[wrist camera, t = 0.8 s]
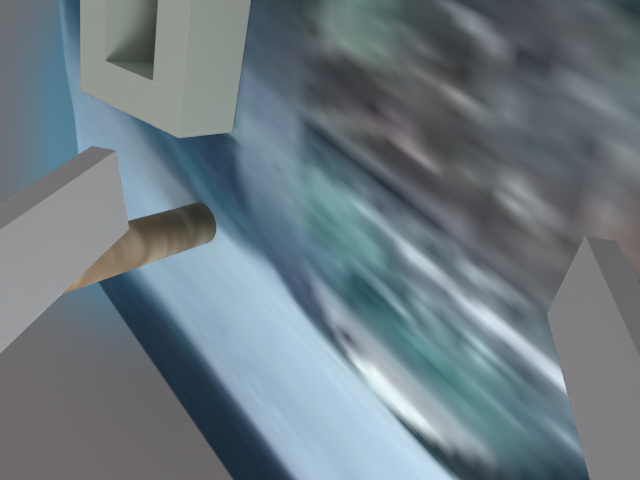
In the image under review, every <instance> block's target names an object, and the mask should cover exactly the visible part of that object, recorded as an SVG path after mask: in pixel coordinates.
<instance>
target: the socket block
mask: <svg viewBox="0 0 640 480" xmlns="http://www.w3.org/2000/svg"><path fill="white" fill-rule="evenodd" d="M250 4H251V0H80V65H81V91H82V92H84V93H86V94H88V95H90V96H92V97H95V98H97V99H99V100H101V101H103V102H105V103H107V104H109V105H111V106H113V107H115V108H117V109H119V110H122V111H124V112H126V113H128V114H130V115H132V116H134V117H136V118H138V119H140V120H142V121H144V122H147V123H149V124H151V125H153V126H155V127H157V128H159V129H161V130H163V131H165V132H167V133H169V134H172V135H174V136H176V137H178V138H184V137H193V136H202V135H210V134H219V133H228V132H233V124H234V117H235V110H236V103H237V96H238V89H239V82H240V75H241V68H242V61H243V53H244V46H245V39H246V32H247V25H248V18H249V11H250Z"/></svg>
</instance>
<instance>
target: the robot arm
mask: <svg viewBox="0 0 640 480" xmlns="http://www.w3.org/2000/svg"><path fill="white" fill-rule="evenodd" d="M128 230H129V224H128V219H127V213H126V207H125V201H124V195H123V189H122V184H121V178H120V172H119V166H118V160H117V154H116V151H115V150H110V149H104V148H99V147H93V146H92V147H90V148H89V149H87V150H85V151H84V152H82V153H81V154H79V155H77V156H76V157H74V158H73V159H71V160H70V161H68V162H66V163H65V164H63V165H62V166H60V167H58V168H57V169H55V170H54V171H52V172H50V173H49V174H47V175H46V176H44V177H42V178H41V179H39V180H38V181H36V182H34V183H33V184H31V185H29V186H28V187H26V188H25V189H23V190H21V191H20V192H18V193H17V194H15V195H13V196H12V197H10V198H9V199H7V200H5V201H4V202H2V203H1V204H0V353H1V352H2V351H3V350H4V349H5V348H6V347H7V346H8V345H9V344H10V343H11V342H12V341H13V340H14V339H15V338H16V337H17V336H19V335H20V334H21V333H22V332H23V331H24V330H25V329H26V328H27V327H28V326H29V325H30V324H31V323H32V322H33V321H34V320H35V319H36V318H37V317H38V316H39V315H40V314H41V313H43V312H44V310H45V309H47V307H49V306H50V305H51V304H52V303H53V302H54V301H55V300H56V299H57V298H58V297H59V296H60V295H61V294H62V293H63V292H64V291H65V290H66V289H68V288H69V287H70V286H71V285H72V284H73V283H74V282H75V281H76V280H77V279H78V278H79V277H80V276H81V275H82V274H83V273H84V272H85V271H86V270H87V269H88V268H89V267H90V266H91V265H93V264H94V263H95V262H96V261H97V260H98V259H99V258H100V257H101V256H102V255H103V254H104V253H105V252H106V251H107V250H108V249H109V248H110V247H111V246H112V245H113V244H114V243H115V242H116V241H117V240H119V239H120V238H121V237H122V236H123V235H124V234H125V233H126V232H127V231H128ZM547 317H548V320H549V324H550V328H551V332H552V336H553V340H554V343H555V347H556V351H557V355H558V359H559V363H560V366H561V370H562V374H563V378H564V382H565V386H566V389H567V393H568V397H569V401H570V405H571V409H572V413H573V416H574V420H575V424H576V428H577V432H578V436H579V439H580V443H581V447H582V451H583V455H584V459H585V462H586V466H587V470H588V474H589V478H590V480H640V284H639V282H638V280H637V278H636V276H635V274H634V273H633V271H632V269H631V267H630V265H629V263H628V261H627V260H626V258H625V256H624V254H623V252H622V250H621V249H620V247H619V245H618V243H617V241H611V240H606V239H600V238H595V237H589V236H585V237H584V239H583V241H582V243H581V245H580V247H579V249H578V251H577V254H576V256H575V258H574V260H573V262H572V264H571V266H570V268H569V270H568V272H567V274H566V276H565V278H564V280H563V282H562V284H561V286H560V289H559V291H558V293H557V295H556V297H555V299H554V301H553V303H552V305H551V307H550V309H549V311H548V313H547Z"/></svg>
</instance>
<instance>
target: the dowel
mask: <svg viewBox="0 0 640 480" xmlns="http://www.w3.org/2000/svg"><path fill="white" fill-rule="evenodd" d="M128 224H129V230H128V231H127V232H126V233H125V234H124V235H123V236H122V237H121V238H120V239H119V240H117V241H116V242H115V243H114V244H113V245H112V246H111V247H110V248H109V249H108V250H107V251H106V252H105V253H104V254H103V255H102V256H101V257H100V258H99V259H98V260H97V261H96V262H95V263H94V264H93V265H91V266H90V267H89V268H88V269H87V270H86V271H85V272H84V273H83V274H82V275H81V276H80V277H79V278H78V279H77V280H76V281H75V282H74V283H73V284H72V285H71V286H70V287H69V288H68V289H66V290H65V291H64V292H63V293H62V294H64V293H67V292H70V291H73V290H75V289H78V288H81V287H84V286H86V285H90V284H92V283H95V282H98V281H101V280H104V279H106V278H109V277H112V276H115V275H118V274H121V273H123V272H126V271H129V270H132V269H135V268H137V267H140V266H143V265H146V264H149V263H151V262H154V261H157V260H160V259H163V258H166V257H168V256H171V255H174V254H177V253H180V252H182V251H185V250H188V249H191V248H194V247H196V246H199V245H202V244H205V243H208V242H210V241H211V240H212V239H213V238H214V236H215V233H216V223H215V219H214V217H213V215H212V213H211V211H210V210H209V209H208V208H207V207H206V206H205V205H203V204H200V203H195V204H191V205H188V206H184V207H180V208H176V209H172V210H168V211H165V212H161V213H157V214H153V215H149V216H146V217H142V218H138V219H134V220H130V221H128Z"/></svg>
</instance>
